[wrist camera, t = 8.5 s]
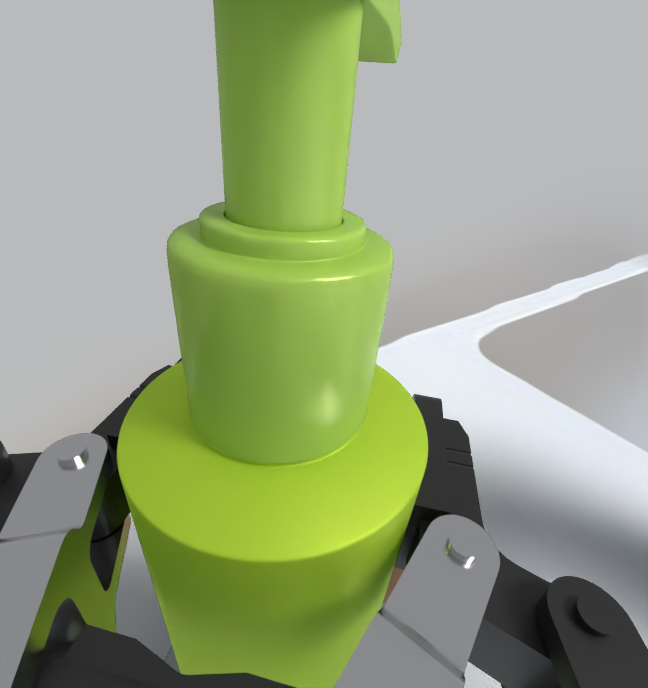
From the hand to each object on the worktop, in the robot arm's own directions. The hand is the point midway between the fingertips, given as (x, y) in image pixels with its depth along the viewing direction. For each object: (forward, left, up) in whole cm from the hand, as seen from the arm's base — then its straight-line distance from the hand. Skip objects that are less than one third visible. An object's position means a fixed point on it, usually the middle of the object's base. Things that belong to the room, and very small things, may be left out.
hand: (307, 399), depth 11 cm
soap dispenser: (0, +2, -11) cm, 11 cm away
